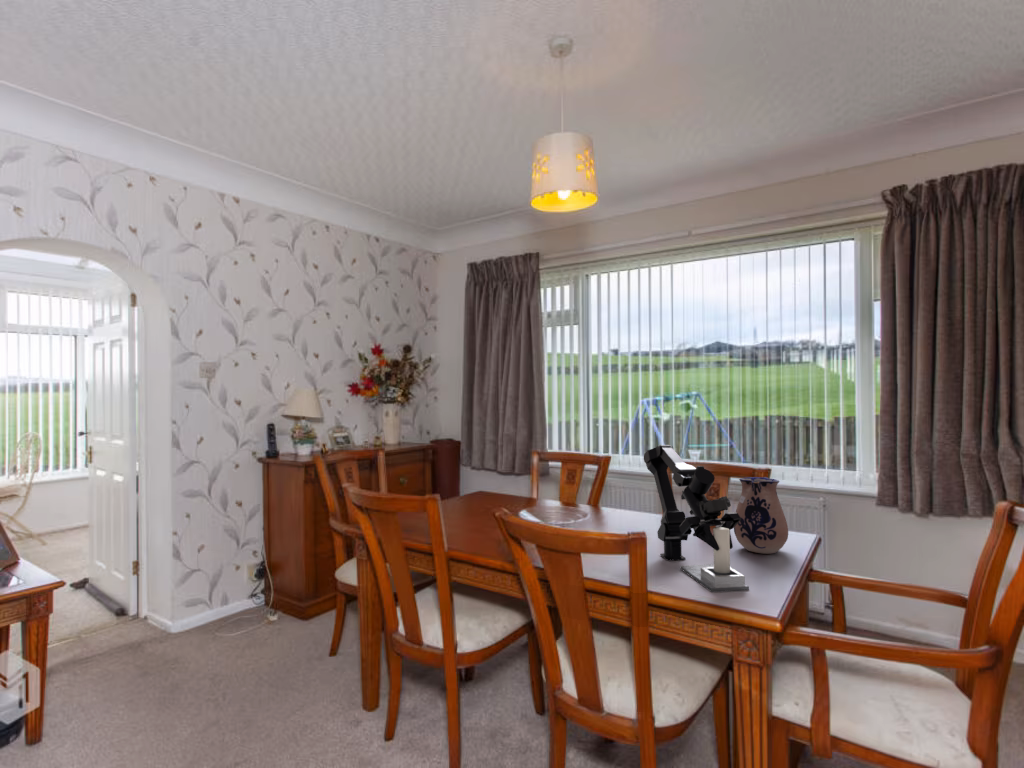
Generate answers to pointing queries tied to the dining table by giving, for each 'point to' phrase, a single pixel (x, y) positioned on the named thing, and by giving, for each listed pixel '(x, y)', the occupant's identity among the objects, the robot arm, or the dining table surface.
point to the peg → (722, 550)
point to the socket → (717, 578)
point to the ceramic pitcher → (760, 516)
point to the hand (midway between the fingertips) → (724, 549)
